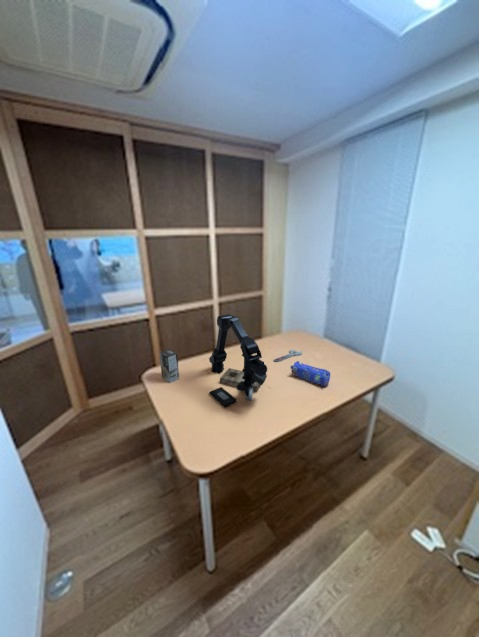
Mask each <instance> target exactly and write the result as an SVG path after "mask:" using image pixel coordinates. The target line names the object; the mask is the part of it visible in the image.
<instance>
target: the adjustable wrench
mask: <svg viewBox="0 0 479 637" xmlns="http://www.w3.org/2000/svg"><path fill="white" fill-rule="evenodd" d="M288 352H289V354H285V355H282V356H280V357H276V358H274V359H273V362H275V363H279V362H281V361H284V360H286V359H288V358H289V359H290V358H291V357H296V356H297V357H298V356H299V357H300V356H302V355H303V351H302V349H301V350H300V351H296V349H293V350H292V349H289V351H288Z"/></svg>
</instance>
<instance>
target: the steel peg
mask: <svg viewBox="0 0 479 637" xmlns="http://www.w3.org/2000/svg"><path fill="white" fill-rule="evenodd" d="M251 386H253V385H252V384H251ZM253 392H254V391H253V387H252V389H251V390H250V392H249V396H246V394H245V393H244V395H245V396H244V399H245V401H247V402H251V401H252V400H253Z"/></svg>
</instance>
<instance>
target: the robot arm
mask: <svg viewBox="0 0 479 637" xmlns="http://www.w3.org/2000/svg"><path fill="white" fill-rule="evenodd" d="M216 325H217V327H218V333H217V334H218V335H217V341H216V345H215V346H216V347H215V348H214V349H213V350H212V353H211V356H210V357H209V358H208V359H209V363H211V370H210V372H211V373H215V374H221V373H222V372H223V371H225V367H224V362H226V359H227V355H228V353H227V352H226V350H225V348H226V343H227V342H226V341H227V336H228V331H229V329H230V328H231V329H232V331H233V333H234V334H235V336H236V338H237V340H238V341H239V342H240V350H241V352H242V353H241V356H242V357H243V368H242V370H241V371H242V372H244V375H243V377H242V379H245V380H244V382H243V381H241V382H239V384H238V385H237V387H236V390H237V391H239V392H243V393H244V395H245V394H246V396H249V392H250V390H251V389H252V387H253V386H251V384H252V385H254V383H255V382H257V383H259V384H260V385H261V386H263V385H264V383H265V381H266V380H267V376H268V375H267V372H268V366H267V365H266V364H265V362H264V361H263V360H261V359H262V358H263V356H262V352H261V350H260V348H259V345H258V343H257V342H256V341H255V340H254V339H253V338H251V337H249V335H248V333H247V331H246V330H245V329H244V326H243V325H242V324H241V322H240V319H239V317H238V316H235V315H231V314H229V313H228V314H221V315H218V316H217V318H216Z"/></svg>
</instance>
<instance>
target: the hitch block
mask: <svg viewBox="0 0 479 637" xmlns="http://www.w3.org/2000/svg"><path fill="white" fill-rule="evenodd" d="M243 375H244V372H242V370H240V369H234V368H230V367H229V368H227V370H225V372H224V373H223V374H222V375H221V376H220V378H219V381H220V382H219V384H222V385H225V386H230V387H233V388H237V385H238V384H239V382H241V381H243V382H244V380H245V379H242V377H243ZM261 386H262V385H260V384H259V383H257V382H255V383H254V385H253V392H254V393H258V392H259V389H261Z"/></svg>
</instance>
